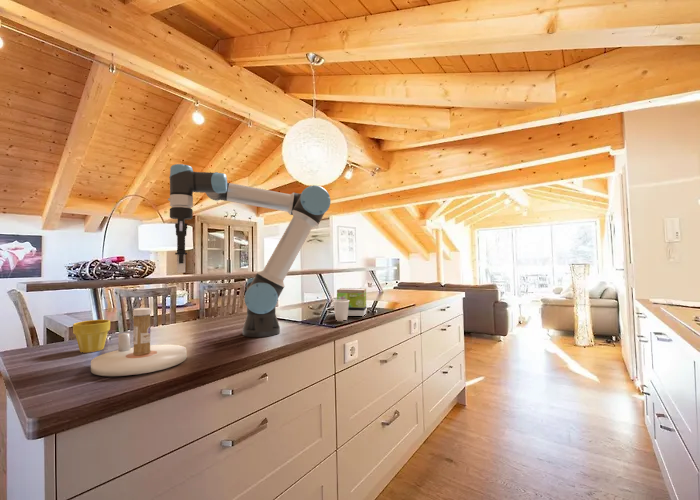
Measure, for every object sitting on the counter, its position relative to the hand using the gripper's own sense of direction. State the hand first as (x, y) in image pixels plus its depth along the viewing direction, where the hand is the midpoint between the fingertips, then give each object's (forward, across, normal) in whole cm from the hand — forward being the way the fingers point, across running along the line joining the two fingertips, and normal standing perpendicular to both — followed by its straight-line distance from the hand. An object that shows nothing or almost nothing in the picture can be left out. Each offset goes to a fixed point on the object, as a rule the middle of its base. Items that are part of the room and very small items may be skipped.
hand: (181, 272), depth 125 cm
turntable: (+26, +20, -10) cm, 35 cm away
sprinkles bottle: (+24, +20, -10) cm, 32 cm away
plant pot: (+27, -8, -28) cm, 39 cm away
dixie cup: (+27, -21, +72) cm, 80 cm away
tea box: (+27, -32, +83) cm, 93 cm away
